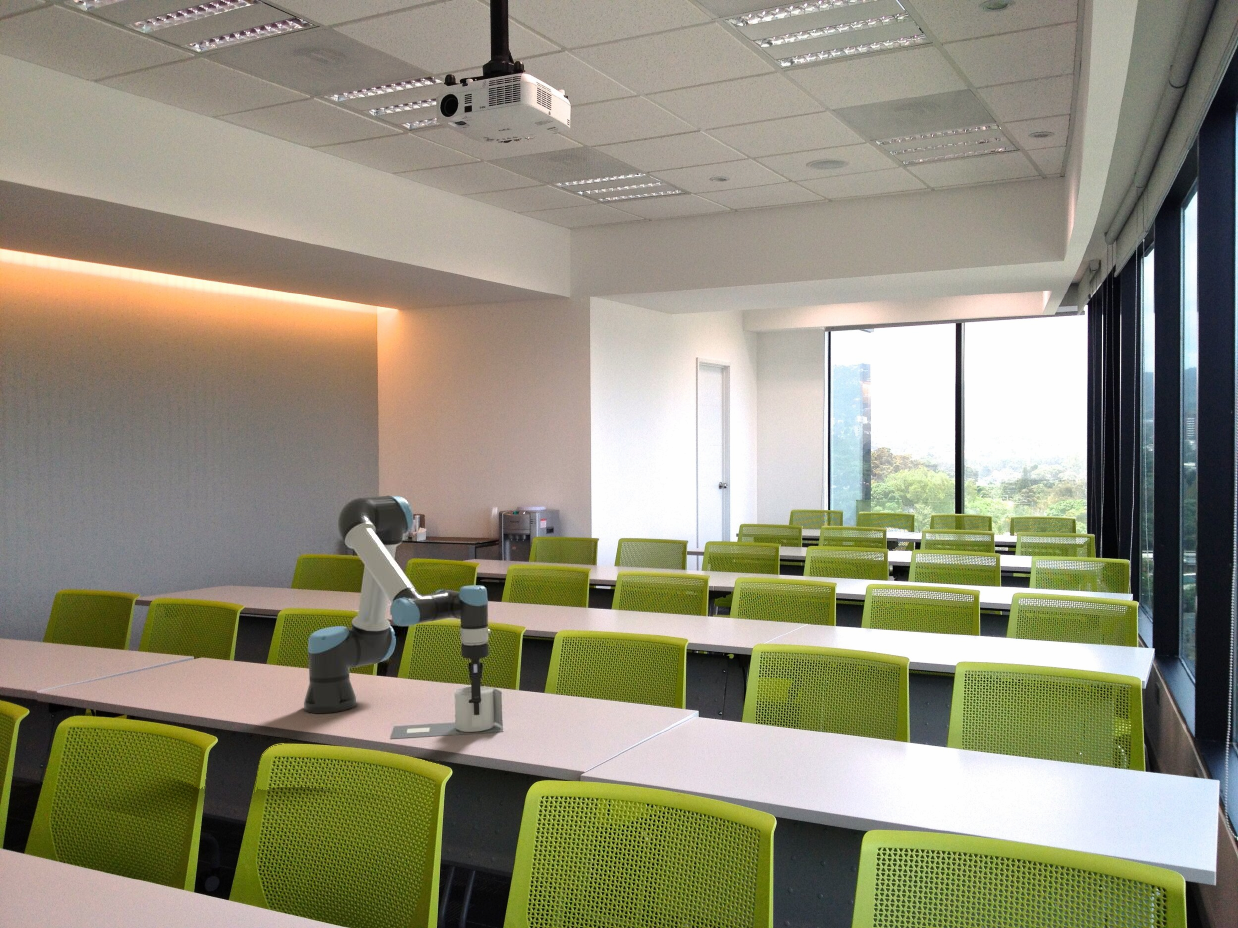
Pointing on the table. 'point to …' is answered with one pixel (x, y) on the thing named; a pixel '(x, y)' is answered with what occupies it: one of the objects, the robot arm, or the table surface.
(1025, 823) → the table surface
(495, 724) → the label mat
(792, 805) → the table surface
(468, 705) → the toilet tissue
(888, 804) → the table surface
